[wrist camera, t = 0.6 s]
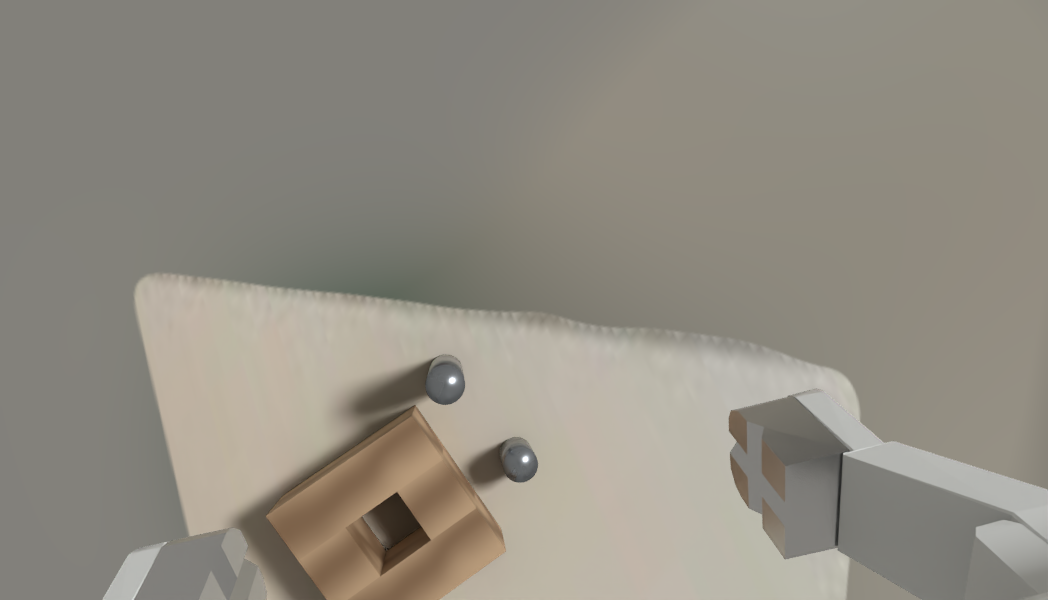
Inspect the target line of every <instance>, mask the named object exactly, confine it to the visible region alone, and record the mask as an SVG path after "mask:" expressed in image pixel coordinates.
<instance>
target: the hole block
mask: <svg viewBox="0 0 1048 600" xmlns="http://www.w3.org/2000/svg"><path fill="white" fill-rule="evenodd" d="M396 492H398V494H399V495H400V497H401V498H402V500H403V501H404V502H405V504H406V505H407V507H408V508H409V509H410V511H411V512H412V514H413V515H414V517H415V518H416V519H417V521H418V522H419V524H420V525H421V526H422V527H420V528H419V529H417V530H416V531H415V532H413V533H412V534H410V535H409V536H408V537H406V538H405V539H403V540H402V541H400V542H399V543H398V544H396V545H395V546H393V547H392V548H391V549H389V550H388V551H386V550H385V549H384V547H383V546H382V544H381V543H380V542H379V540H378V539H377V537H376V536H375V535H374V533H373V532H372V530H371V529H370V528H369V526H368V525H367V523H366V522H365V521H364V519H363V518H362V516H363V515H364V514H366V513H367V512H369V511H370V510H372V509H373V508H374V507H376V506H377V505H379V504H380V503H382V502H383V501H384V500H386V499H387V498H389V497H390V496H392V495H393V494H394V493H396ZM266 517H267V519H268V520H269V521H270V523H271V524H272V526H273V527H274V528H275V530H276V531H277V532H278V534H279V535H280V537H281V538H282V539H283V541H284V542H285V543H286V545H287V546H288V548H289V549H290V550H291V552H292V553H293V554H294V556H295V557H296V559H297V560H298V561H299V563H300V564H301V565H302V567H303V568H304V570H305V571H306V572H307V574H308V575H309V576H310V578H311V579H312V581H313V582H314V583H315V585H316V586H317V587H318V589H319V590H320V592H321V593H322V594H323V596H324V597H325V598H326V600H439V599H441V598H442V597H443V596H445V595H446V594H448V593H449V592H450V591H452V590H453V589H454V588H456V587H457V586H459V585H460V584H461V583H463V582H464V581H465V580H467V579H468V578H470V577H471V576H472V575H474V574H475V573H477V572H478V571H479V570H481V569H482V568H483V567H485V566H486V565H488V564H489V563H490V562H492V561H493V560H494V559H496V558H497V557H499V556H500V555H501V554H503V553H504V552H506V549H505V544H504V540H503V535H502V531H501V528H500V527H499V525H498V524H497V522H496V521H495V519H494V518H493V516H492V515H491V514H490V512H489V511H488V509H487V508H486V506H485V505H484V503H483V502H482V501H481V499H480V498H479V496H478V495H477V493H476V492H475V491H474V489H473V488H472V486H471V485H470V483H469V482H468V480H467V479H466V478H465V476H464V475H463V473H462V472H461V470H460V469H459V467H458V466H457V465H456V463H455V462H454V460H453V459H452V457H451V456H450V455H449V453H448V452H447V450H446V449H445V447H444V446H443V444H442V443H441V442H440V440H439V439H438V437H437V436H436V434H435V433H434V431H433V430H432V429H431V427H430V426H429V424H428V423H427V421H426V420H425V419H424V417H423V416H422V414H421V413H420V411H419V410H418V408H417V407H416V406H413V407H412V408H410V409H409V410H407V411H406V412H404V413H403V414H402V415H400V416H399V417H397V418H396V419H394V420H393V421H391V422H390V423H388V424H387V425H385V426H384V427H383V428H381V429H380V430H378V431H377V432H375V433H374V434H372V435H371V436H369V437H368V438H366V439H365V440H364V441H362V442H361V443H359V444H358V445H356V446H355V447H353V448H352V449H350V450H349V451H347V452H346V453H345V454H343V455H342V456H340V457H339V458H337V459H336V460H334V461H333V462H331V463H330V464H328V465H327V466H326V467H324V468H323V469H321V470H320V471H318V472H317V473H315V474H314V475H312V476H311V477H309V478H308V479H307V480H305V481H304V482H302V483H301V484H299V485H298V486H296V487H295V488H293V489H292V490H290V491H289V492H288V493H286V494H285V495H283V496H282V497H281V498H280V499H279V501H278V502H277V503H276V504H275V506H274V507H273V508H272V509H271V510H270V512H269V513H268V514H267V515H266Z"/></svg>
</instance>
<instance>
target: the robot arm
mask: <svg viewBox="0 0 1048 600" xmlns="http://www.w3.org/2000/svg"><path fill="white" fill-rule="evenodd" d="M729 432H730V433H731V434H732V436H733V437H734V438H735V440H736V441H737V443H736V444H735V446H734V447H733V449H732V450H731V452H730V461H731V470H732V474H733V477H734V481H735V484H736V487H737V489H738V491H739V493H740V495H741V497H742V499H743V500H744V502H745V503H746V505H747V506H748V508H750V509H752V510H754V511H756V512H758V513H760V514H762V518H763V529H764V531H765V532H766V533H767V535H768V536H769V538H770V539H771V540H772V542H773V543H774V545H775V546H776V547H777V549H778V550H779V552H780V553H781V555H782V556H783V557H784V559H789V558H793V557H798V556H802V555H807V554H811V553H816V552H820V551H825V550H829V549H833V548H838V551H840V552H841V553H843V554H845V555H847V556H848V557H850V558H852V559H854V560H855V561H857V562H859V563H860V564H862V565H864V566H865V567H867V568H869V569H871V570H872V571H874V572H876V573H877V574H879V575H881V576H882V577H884V578H886V579H888V580H890V581H891V582H893V583H894V584H896V585H898V586H900V587H901V588H903V589H905V590H906V591H908V592H910V593H911V594H913V595H915V596H917V597H918V598H920V599H922V600H1048V490H1047V489H1044V488H1041V487H1038V486H1035V485H1031V484H1028V483H1025V482H1022V481H1019V480H1015V479H1012V478H1009V477H1006V476H1003V475H1000V474H997V473H993V472H990V471H987V470H984V469H981V468H977V467H974V466H971V465H968V464H965V463H962V462H958V461H955V460H952V459H949V458H946V457H942V456H939V455H936V454H933V453H930V452H927V451H923V450H920V449H917V448H914V447H911V446H907V445H904V444H901V443H898V442H895V441H892V442H888V443H884V442H883V441H881V440H880V439H879V438H878V437H877V436H876V435H874V434H873V433H872V432H871V431H870V430H869V429H867V428H866V427H865V426H864V425H863V424H862V423H861V422H859V421H858V420H857V419H856V418H855V417H854V416H852V415H851V414H850V413H849V412H848V411H847V410H845V409H844V408H843V407H842V406H841V405H840V404H838V403H837V402H836V401H835V400H834V399H833V398H831V397H830V396H829V395H828V394H827V393H826V392H824V391H823V390H820V389H812V390H808V391H804V392H801V393H797V394H793V395H789V396H788V397H785V398H781V399H777V400H773V401H769V402H764V403H760V404H756V405H752V406H748V407H744V408H740V409H735V410H731V412H730V416H729ZM247 548H248V544H247V542H246V540H245V538H244V536H243V534H242V532H241V530H239V529H236V528H228V529H223V530H218V531H214V532H209V533H204V534H200V535H195V536H190V537H186V538H181V539H177V540H171V541H169V542H164V543H159V544H155V545H150V546H146V547H141V548H138V549H136V550H135V551H133V552H132V553H130V554H129V555H128V556H127V558H126V560H125V562H124V563H123V565H122V567H121V568H120V570H119V572H118V574H117V575H116V577H115V579H114V580H113V582H112V584H111V586H110V587H109V589H108V591H107V592H106V594H105V596H104V598H103V599H102V600H267V591H266V587H265V583H264V578H263V576H262V574H261V571H260V569H259V567H258V566H257V565H255V564H253V563H251V562H250V561H248V560H246V559H244V557H245V554H246V551H247Z"/></svg>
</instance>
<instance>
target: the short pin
mask: <svg viewBox="0 0 1048 600" xmlns="http://www.w3.org/2000/svg"><path fill="white" fill-rule="evenodd" d="M500 459H501V463H502V466H503V469H504V472H505V474H506V476H507V477H508V478H509V479H510V480H512V481H514V482H526V481H528V480H530V479H531V478H532V477H533V476H534V475H535V473H536V471H537V468H538V461H537V458H536V456H535V454H534V452H533V450H532V448H531V447H530V445H529V443H528V442H527V441H526V440H524V439H522V438H519V437H513V438H510V439H508V440H506V441H505V442H504V443H503V444H502V446H501V448H500Z"/></svg>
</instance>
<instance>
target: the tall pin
mask: <svg viewBox="0 0 1048 600" xmlns="http://www.w3.org/2000/svg"><path fill="white" fill-rule="evenodd" d="M464 389H465V381H464V376H463V370H462V366H461V363H460V362H459V360H458V359H457V358H455V357H454V356H452V355H440V356H438V357H436V358H435V359H434V360H433V361H432V363H431V365H430V368H429V372H428V376H427V379H426V392H427V394H428V396H429V397H430V398H431V399H432V400H433V401H434V402H436V403H438V404H442V405H447V404H452V403H454V402H456V401H457V400H458V399H459V398H460V397H461V396H462V394H463V392H464Z"/></svg>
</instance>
